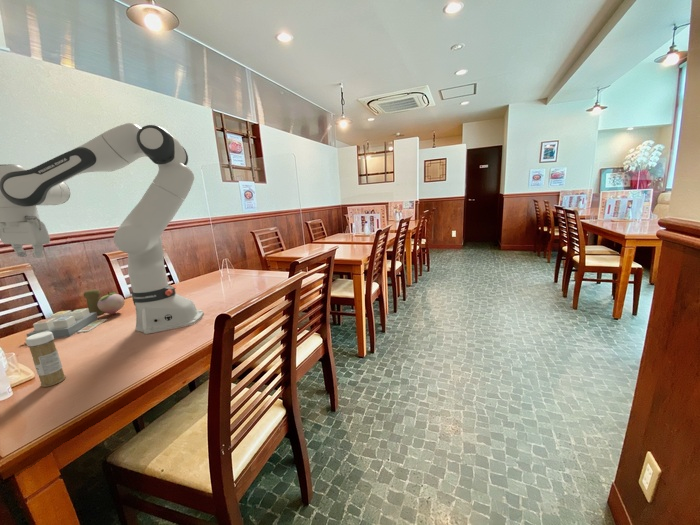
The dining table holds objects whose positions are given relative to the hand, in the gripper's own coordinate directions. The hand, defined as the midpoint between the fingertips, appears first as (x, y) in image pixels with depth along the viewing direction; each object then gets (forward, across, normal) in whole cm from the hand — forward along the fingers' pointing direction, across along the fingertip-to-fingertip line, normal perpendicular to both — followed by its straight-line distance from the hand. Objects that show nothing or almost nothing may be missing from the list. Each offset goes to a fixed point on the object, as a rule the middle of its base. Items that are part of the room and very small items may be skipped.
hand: (30, 257), depth 94 cm
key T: (+27, +2, 0) cm, 27 cm away
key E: (+27, +1, -10) cm, 29 cm away
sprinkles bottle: (+29, -38, +18) cm, 51 cm away
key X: (+27, -3, -3) cm, 27 cm away
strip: (+29, -6, -9) cm, 31 cm away
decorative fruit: (+29, -1, -20) cm, 35 cm away
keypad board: (+29, +1, -5) cm, 30 cm away
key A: (+27, +6, -7) cm, 28 cm away
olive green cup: (+29, +8, -19) cm, 36 cm away
